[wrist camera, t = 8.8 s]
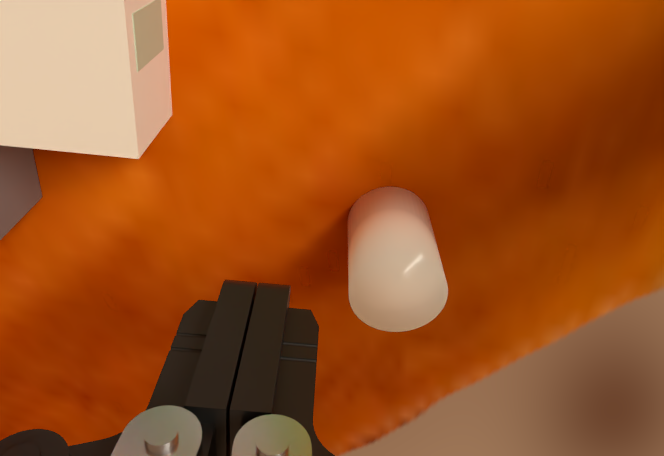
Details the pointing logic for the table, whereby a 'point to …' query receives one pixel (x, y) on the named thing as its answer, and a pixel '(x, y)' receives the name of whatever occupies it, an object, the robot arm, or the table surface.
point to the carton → (84, 75)
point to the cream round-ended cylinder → (394, 261)
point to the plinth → (17, 185)
